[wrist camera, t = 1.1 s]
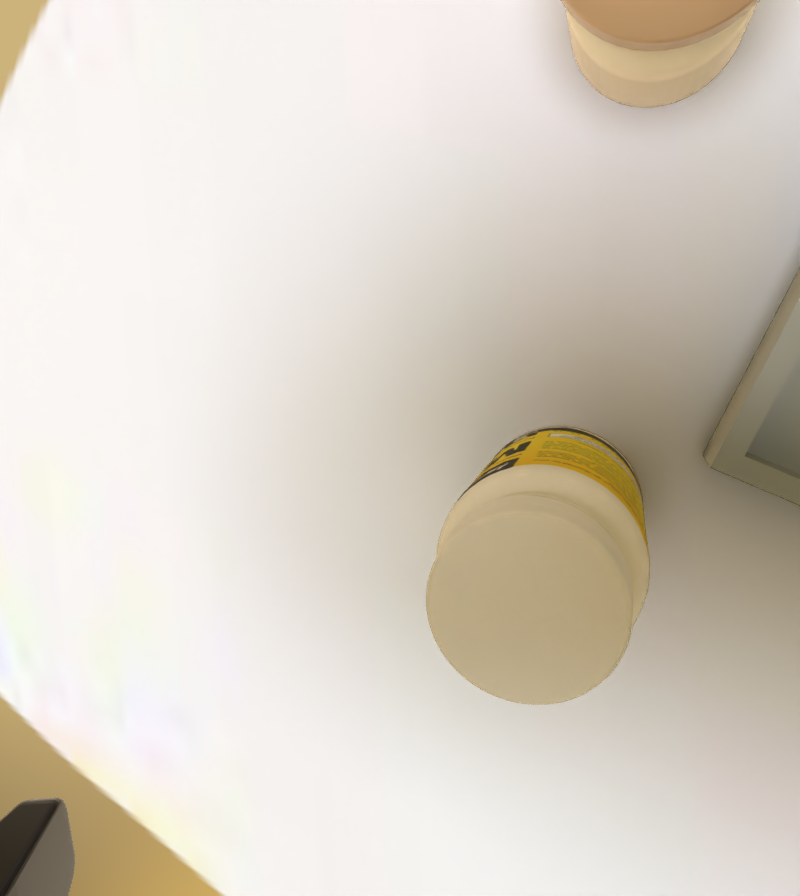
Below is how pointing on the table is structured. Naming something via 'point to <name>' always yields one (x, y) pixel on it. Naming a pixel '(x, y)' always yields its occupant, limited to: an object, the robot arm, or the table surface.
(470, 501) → the supplement bottle
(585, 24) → the sugar jar
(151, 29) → the table surface
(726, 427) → the tray
